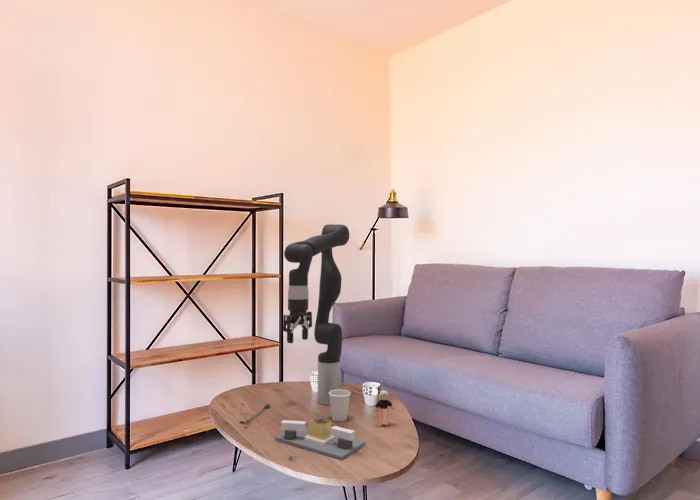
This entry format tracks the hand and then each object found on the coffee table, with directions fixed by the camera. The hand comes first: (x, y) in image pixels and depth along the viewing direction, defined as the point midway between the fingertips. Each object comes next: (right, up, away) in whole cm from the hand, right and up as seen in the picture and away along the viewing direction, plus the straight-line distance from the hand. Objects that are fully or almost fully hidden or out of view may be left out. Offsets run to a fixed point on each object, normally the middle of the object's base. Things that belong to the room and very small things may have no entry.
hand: (297, 341), depth 174 cm
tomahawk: (-15, -31, +7) cm, 35 cm away
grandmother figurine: (+32, -31, -2) cm, 44 cm away
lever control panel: (+9, -30, -18) cm, 36 cm away
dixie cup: (+15, -31, +4) cm, 34 cm away
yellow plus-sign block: (+9, -28, -18) cm, 35 cm away
